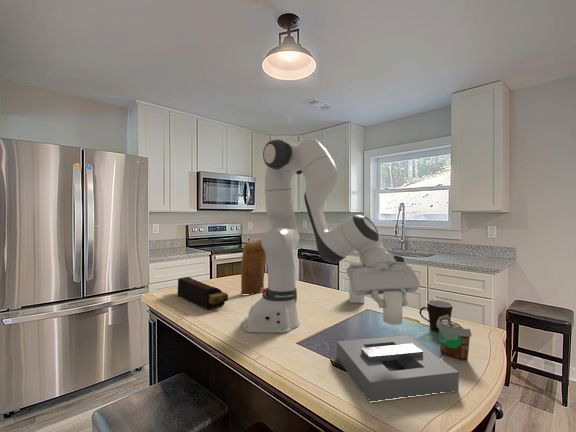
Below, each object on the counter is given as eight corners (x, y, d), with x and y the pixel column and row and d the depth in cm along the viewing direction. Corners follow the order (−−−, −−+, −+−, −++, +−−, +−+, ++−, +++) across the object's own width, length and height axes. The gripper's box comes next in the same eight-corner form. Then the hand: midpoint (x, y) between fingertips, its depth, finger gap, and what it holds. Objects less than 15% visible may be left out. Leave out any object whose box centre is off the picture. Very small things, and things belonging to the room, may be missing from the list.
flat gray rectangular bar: (369, 362, 79) (369, 356, 79) (361, 353, 84) (361, 348, 84) (423, 356, 82) (423, 351, 82) (412, 348, 87) (412, 343, 87)
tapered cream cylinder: (389, 325, 80) (389, 295, 80) (379, 318, 85) (379, 290, 85) (405, 323, 81) (406, 294, 81) (395, 317, 86) (396, 289, 86)
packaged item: (230, 308, 137) (230, 287, 136) (210, 313, 130) (210, 291, 130) (191, 291, 165) (191, 273, 165) (173, 294, 158) (173, 276, 158)
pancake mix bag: (271, 290, 166) (271, 240, 165) (244, 298, 152) (244, 243, 152) (263, 288, 171) (263, 239, 170) (236, 295, 157) (236, 242, 156)
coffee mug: (449, 326, 116) (450, 301, 116) (454, 335, 108) (454, 308, 108) (417, 322, 120) (417, 298, 120) (419, 331, 112) (419, 304, 112)
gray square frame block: (370, 403, 70) (370, 382, 70) (336, 357, 92) (336, 341, 92) (458, 391, 75) (458, 371, 75) (407, 350, 96) (407, 335, 96)
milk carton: (364, 303, 144) (364, 264, 144) (349, 302, 146) (349, 264, 145) (363, 299, 151) (364, 262, 151) (349, 298, 153) (349, 261, 152)
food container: (428, 344, 101) (428, 315, 100) (445, 344, 101) (446, 315, 101) (451, 363, 88) (452, 330, 88) (470, 362, 89) (471, 329, 89)
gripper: (347, 259, 87) (362, 303, 78) (410, 257, 91) (431, 298, 82) (342, 271, 92) (355, 314, 82) (402, 269, 96) (421, 309, 86)
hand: (393, 306), depth 82 cm, fingers closed on tapered cream cylinder, 5 cm apart
